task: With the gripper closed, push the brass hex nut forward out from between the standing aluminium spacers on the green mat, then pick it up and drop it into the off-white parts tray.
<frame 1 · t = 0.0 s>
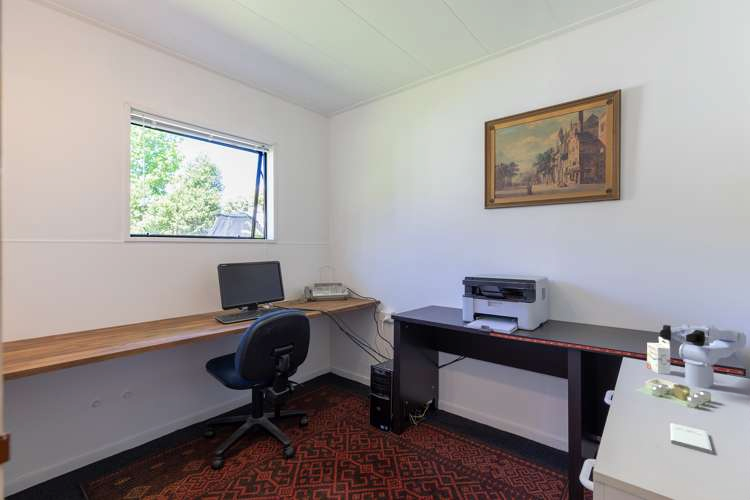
hand: (673, 335, 127), 22 cm above the table, tool horizontal, fingers open, 7 cm apart
tray: (662, 387, 132), resting on mat
ink cartridge box: (658, 372, 151), on the table
nut: (681, 398, 123), point 1 cm above the table, touching mat
external hard drive: (689, 441, 98), on the table
mat: (674, 396, 126), on the table
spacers: (680, 394, 123), on the mat, point 2 cm above the table
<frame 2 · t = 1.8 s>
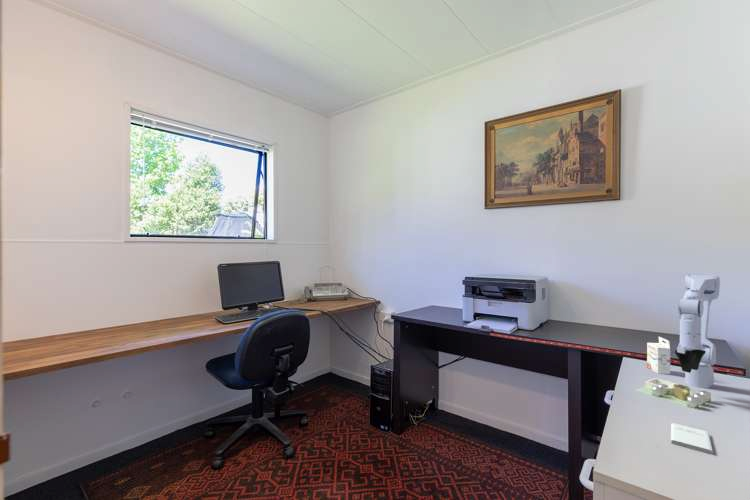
hand: (690, 370, 126), 9 cm above the table, tool pointing down, fingers open, 5 cm apart
nothing on the table moved.
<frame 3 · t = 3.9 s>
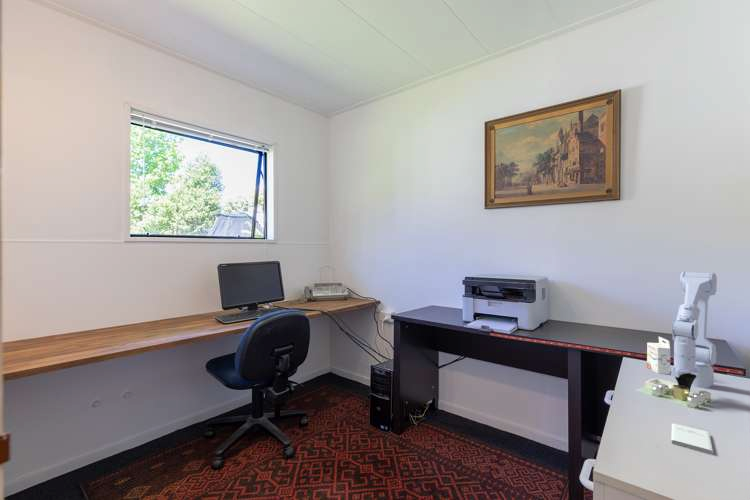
hand: (684, 393, 124), 2 cm above the table, tool pointing down, fingers closed
nut: (680, 398, 123), point 1 cm above the table, touching gripper
everything else where it was.
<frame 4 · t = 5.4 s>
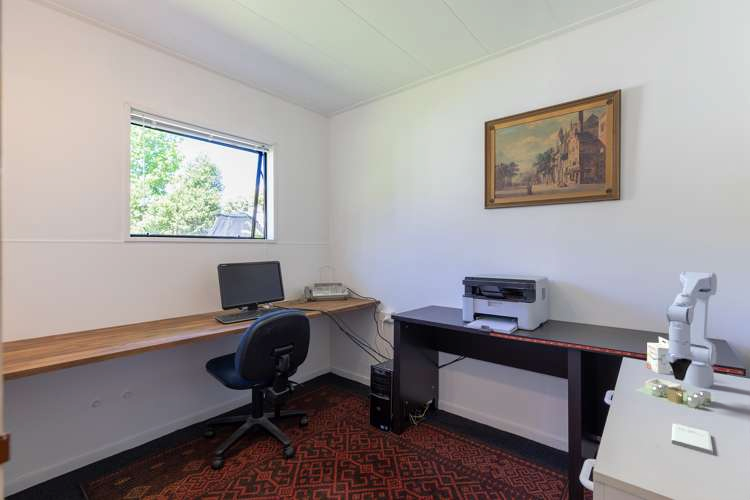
hand: (679, 379, 123), 8 cm above the table, tool pointing down, fingers closed
nut: (674, 400, 121), point 1 cm above the table, touching mat
everything else where it was.
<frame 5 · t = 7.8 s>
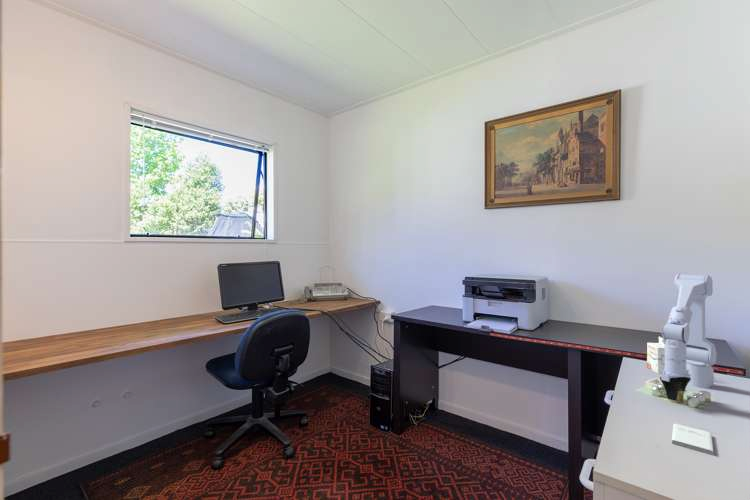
hand: (675, 398, 121), 2 cm above the table, tool pointing down, fingers closed on nut, 4 cm apart
nut: (675, 400, 121), point 1 cm above the table, touching gripper, mat
everything else where it was.
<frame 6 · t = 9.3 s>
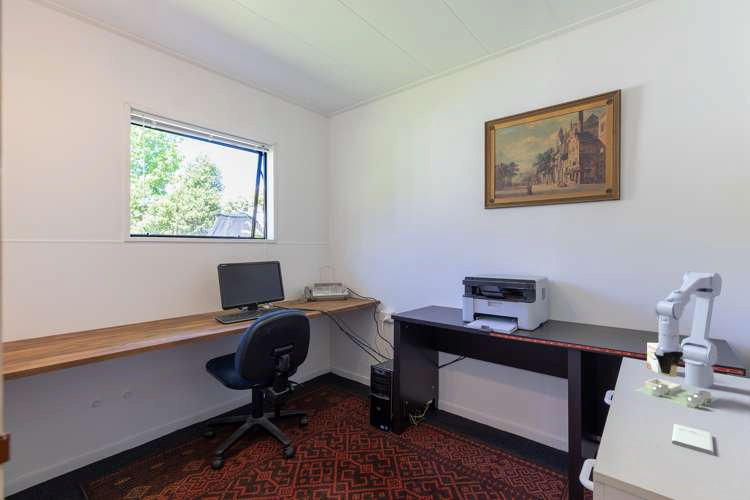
hand: (668, 372, 127), 8 cm above the table, tool pointing down, fingers closed on nut, 4 cm apart
nut: (668, 374, 127), point 8 cm above the table, touching gripper
everything else where it was.
when the fingers open (3 cm above the table, at t = 11.0 s): nut drops 1 cm, resting on tray.
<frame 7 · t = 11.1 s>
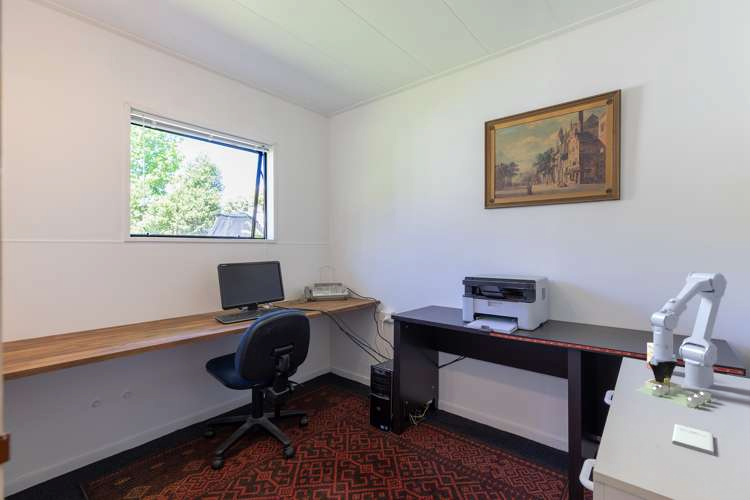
hand: (662, 381, 132), 3 cm above the table, tool pointing down, fingers open, 5 cm apart
nut: (663, 386, 132), point 1 cm above the table, touching tray
everything else where it was.
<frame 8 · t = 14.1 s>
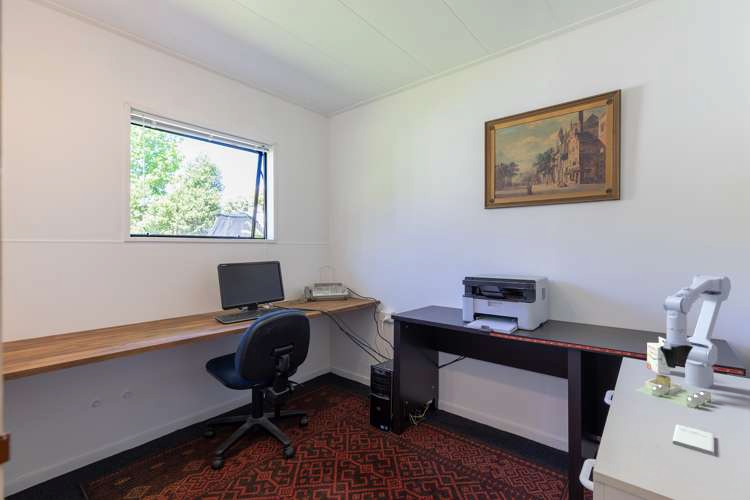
hand: (676, 365, 130), 10 cm above the table, tool pointing down, fingers open, 7 cm apart
nothing on the table moved.
at the end: nut 0.0 cm off-centre on the tray, point 0.3 cm above the tray's base; the gripper is holding nothing; nut moved 9.0 cm from its start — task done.
